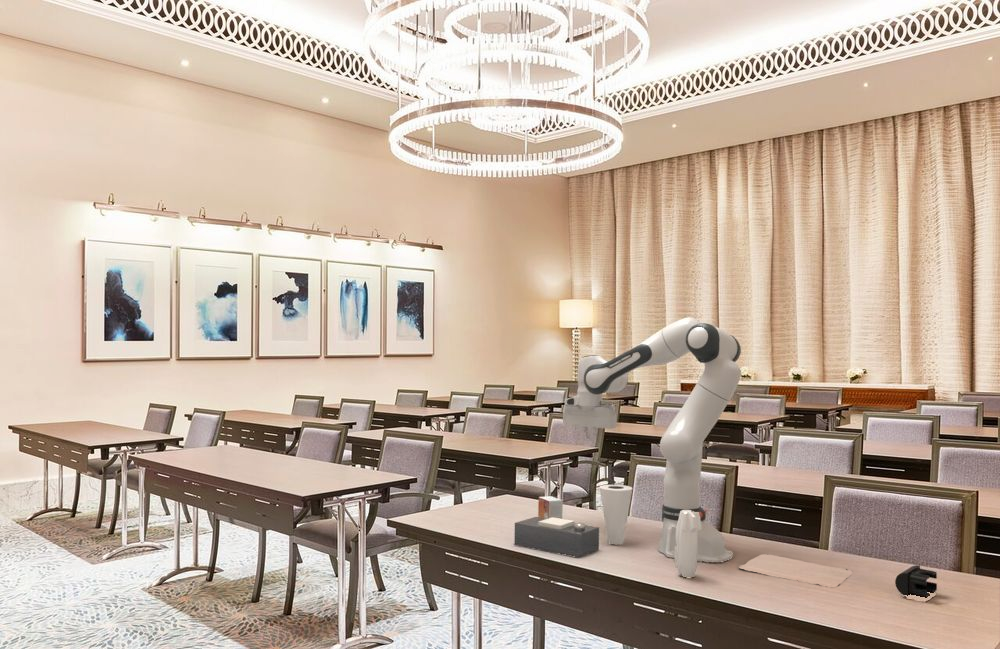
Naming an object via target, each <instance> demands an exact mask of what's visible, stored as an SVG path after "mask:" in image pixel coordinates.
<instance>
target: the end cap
mask: <svg viewBox="0 0 1000 649" xmlns="http://www.w3.org/2000/svg"><path fill="white" fill-rule="evenodd" d="M937 573H938V572H937V571H935V570H929V569H924V568H921V565H913V566H910V567H909V568H907V569H906V570H904V571H902V572H900V573H898V575H897V576H896V577H895V583H894V584H895V587H896V590H897V591H898V592H899V593H900V594H901V595H902V594H903V595H907V596H908V595H910V594H911V595H916V596H920V597H925V598H927V597H928V596H930V594H929V593H927V592H930V593H934V592H935V593H936V592H937V589H938V583H936V582H932V581H927V580H928V579H930V578H931V579H934V580H935V579H937V576H938V574H937ZM903 595H902V596H903Z"/></svg>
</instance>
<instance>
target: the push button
mask: <svg viewBox="0 0 1000 649" xmlns="http://www.w3.org/2000/svg"><path fill="white" fill-rule="evenodd" d="M575 523H576V521H575V520H571V519H564V518H562V519H560V518H554V517H552V518H549V519H545V520H542V521H539V522H538V526H544V527H549V528H555V529H564V528H567V527H570V526H573V525H574V524H575Z"/></svg>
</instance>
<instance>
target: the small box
mask: <svg viewBox="0 0 1000 649" xmlns="http://www.w3.org/2000/svg"><path fill="white" fill-rule="evenodd" d="M563 504H564V503H563V499H559V498H558V497H555V496H552V495H551V496H549V495H548V496H539V497H538V507H537V508H538V509H537V510H538V512H537V514H538V515H537V517H540V518H546V519H549V518H552V517H554V518H560V519H563Z"/></svg>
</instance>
